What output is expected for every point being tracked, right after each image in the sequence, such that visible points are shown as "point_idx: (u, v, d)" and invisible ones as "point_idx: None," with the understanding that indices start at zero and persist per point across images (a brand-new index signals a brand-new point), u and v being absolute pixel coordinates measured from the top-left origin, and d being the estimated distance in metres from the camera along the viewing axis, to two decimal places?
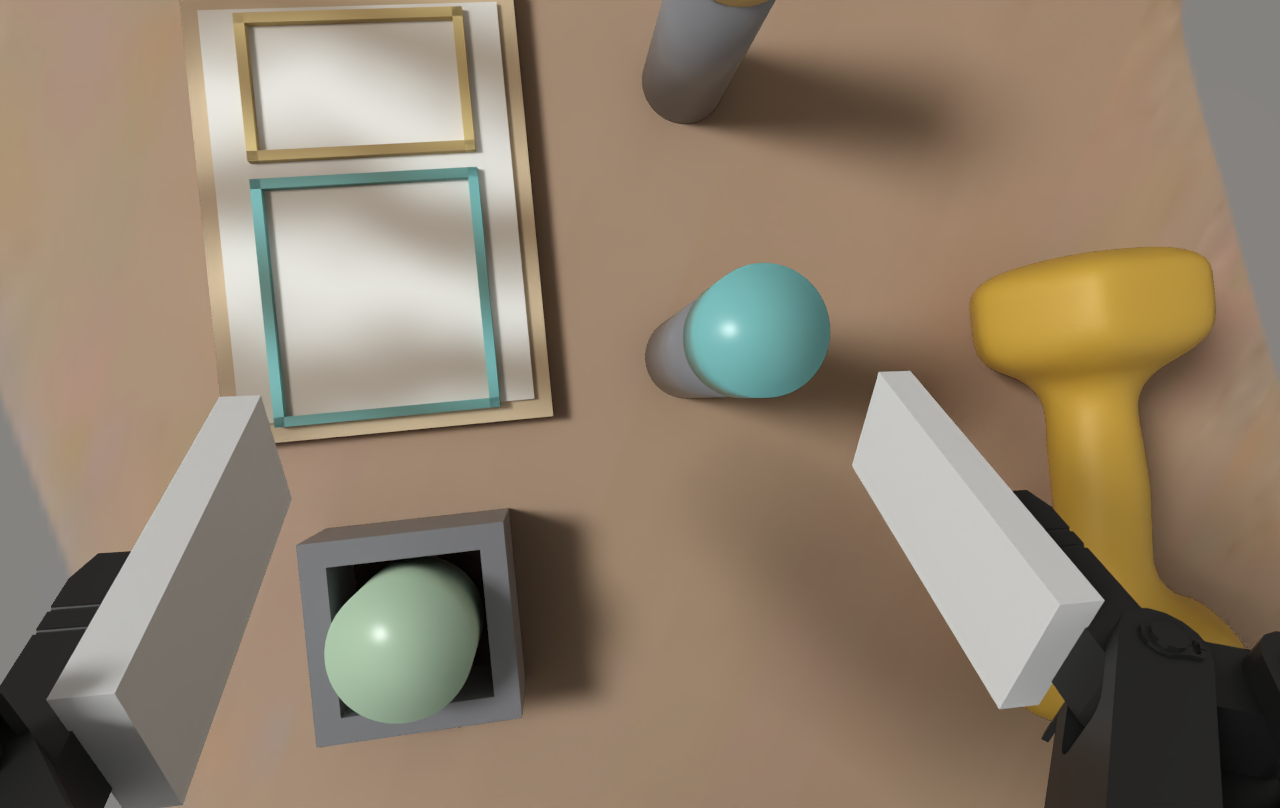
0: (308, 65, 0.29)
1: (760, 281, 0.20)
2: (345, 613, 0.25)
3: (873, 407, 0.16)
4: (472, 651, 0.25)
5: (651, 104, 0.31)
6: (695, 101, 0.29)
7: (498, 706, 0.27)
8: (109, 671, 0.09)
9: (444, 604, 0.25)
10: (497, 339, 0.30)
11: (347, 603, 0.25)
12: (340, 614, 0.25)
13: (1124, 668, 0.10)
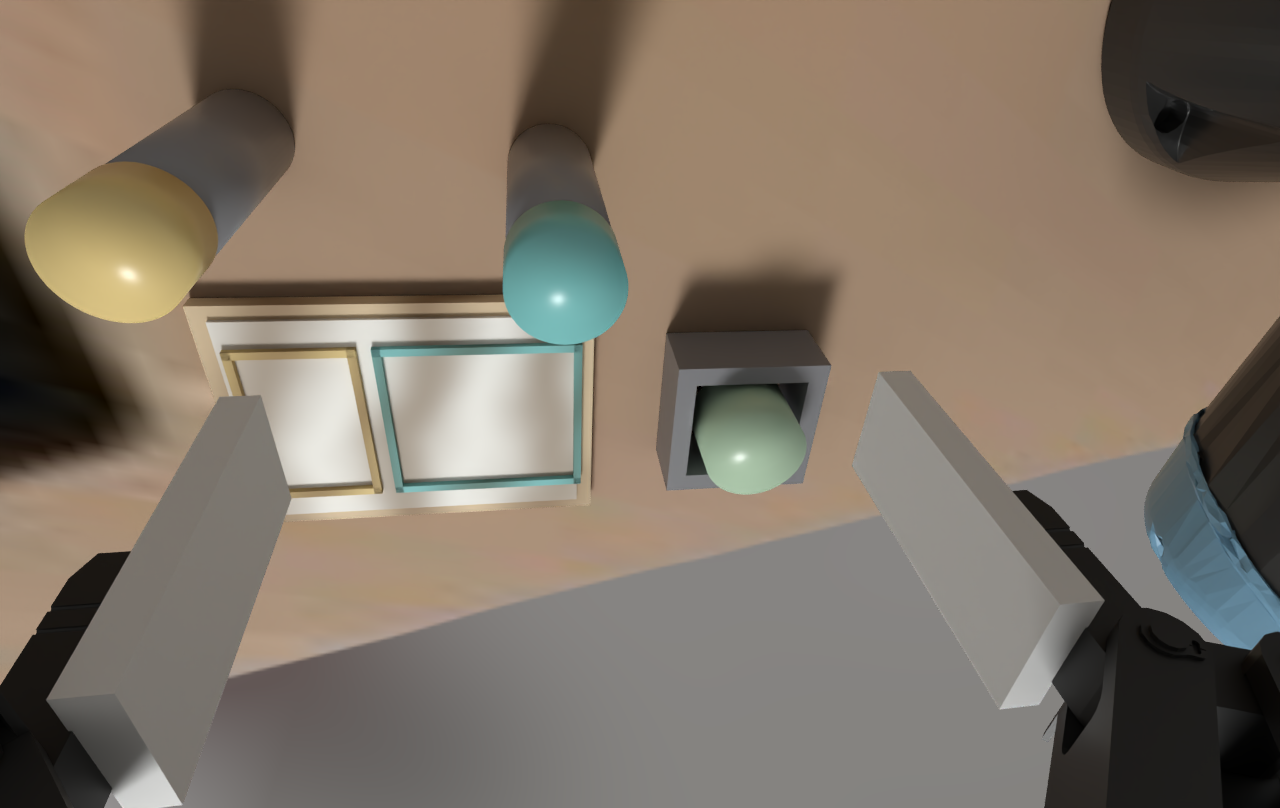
0: (297, 455, 0.36)
1: (520, 291, 0.21)
2: (720, 483, 0.36)
3: (873, 407, 0.16)
4: (770, 414, 0.33)
5: None
6: (278, 156, 0.27)
7: (816, 380, 0.35)
8: (109, 671, 0.09)
9: (732, 429, 0.34)
10: (524, 341, 0.35)
11: (714, 482, 0.35)
12: (720, 485, 0.36)
13: (1124, 668, 0.10)
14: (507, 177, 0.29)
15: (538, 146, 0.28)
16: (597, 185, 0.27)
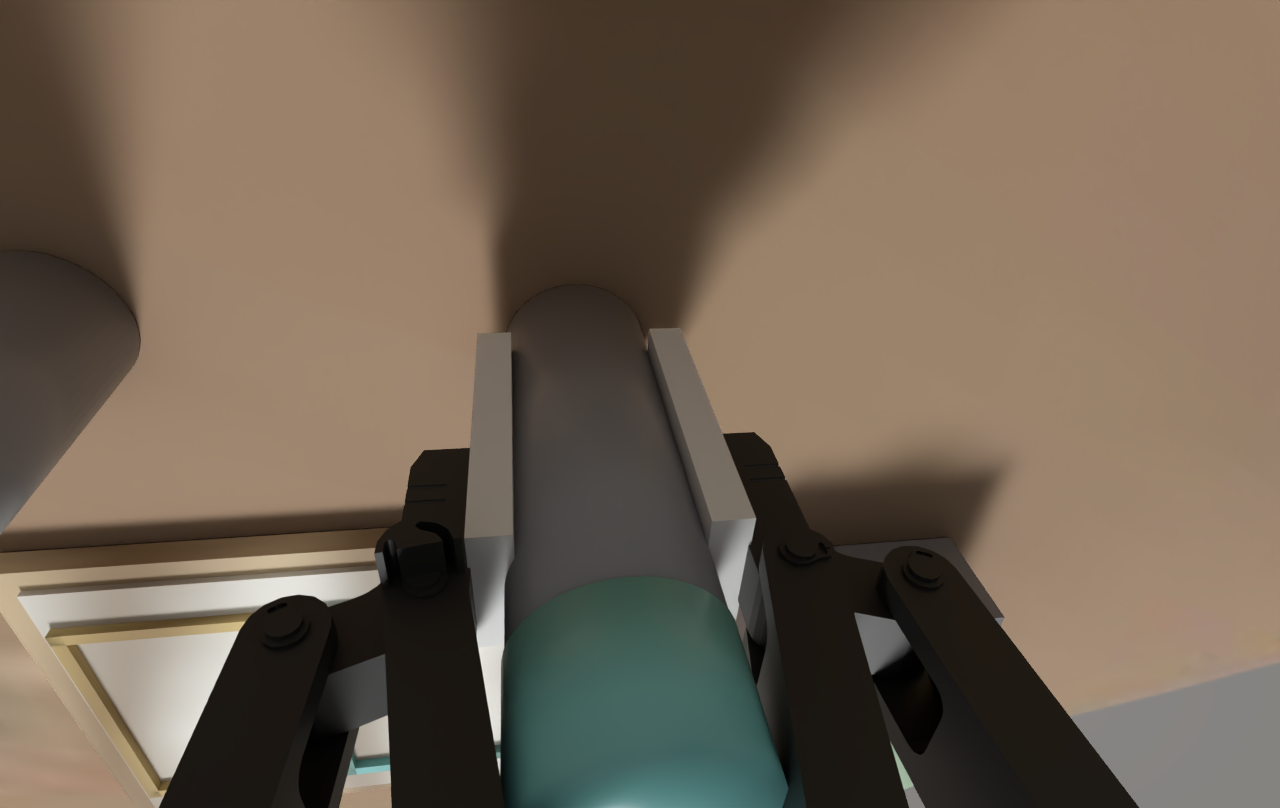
0: None
1: None
2: None
3: None
4: None
5: None
6: (90, 379, 0.15)
7: None
8: (500, 520, 0.12)
9: None
10: None
11: None
12: None
13: (777, 594, 0.11)
14: None
15: (560, 352, 0.15)
16: (672, 438, 0.14)
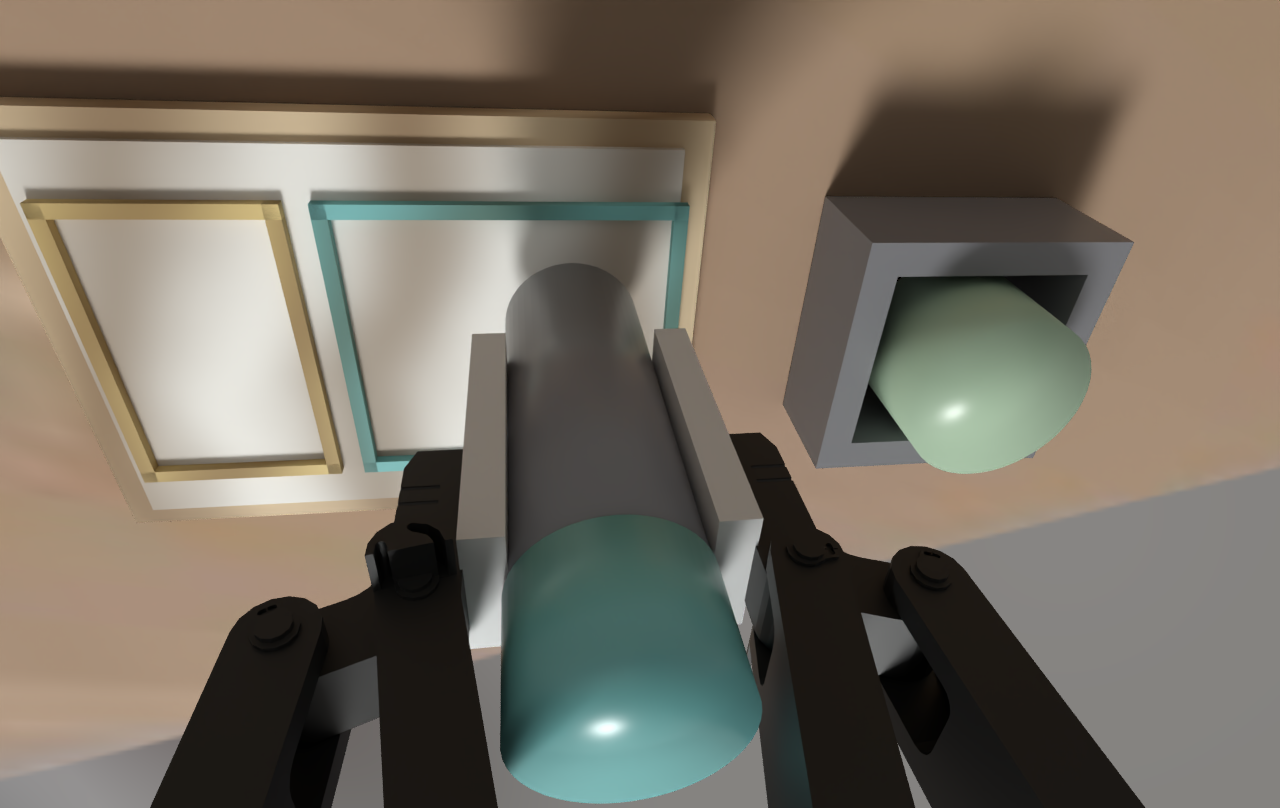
0: (193, 406, 0.21)
1: (537, 745, 0.10)
2: (928, 453, 0.20)
3: (653, 363, 0.17)
4: (1045, 323, 0.18)
5: None
6: None
7: (1102, 271, 0.20)
8: (492, 522, 0.12)
9: (970, 352, 0.18)
10: (586, 197, 0.19)
11: (919, 451, 0.20)
12: (927, 457, 0.20)
13: (784, 594, 0.11)
14: None
15: (557, 323, 0.16)
16: (662, 401, 0.15)
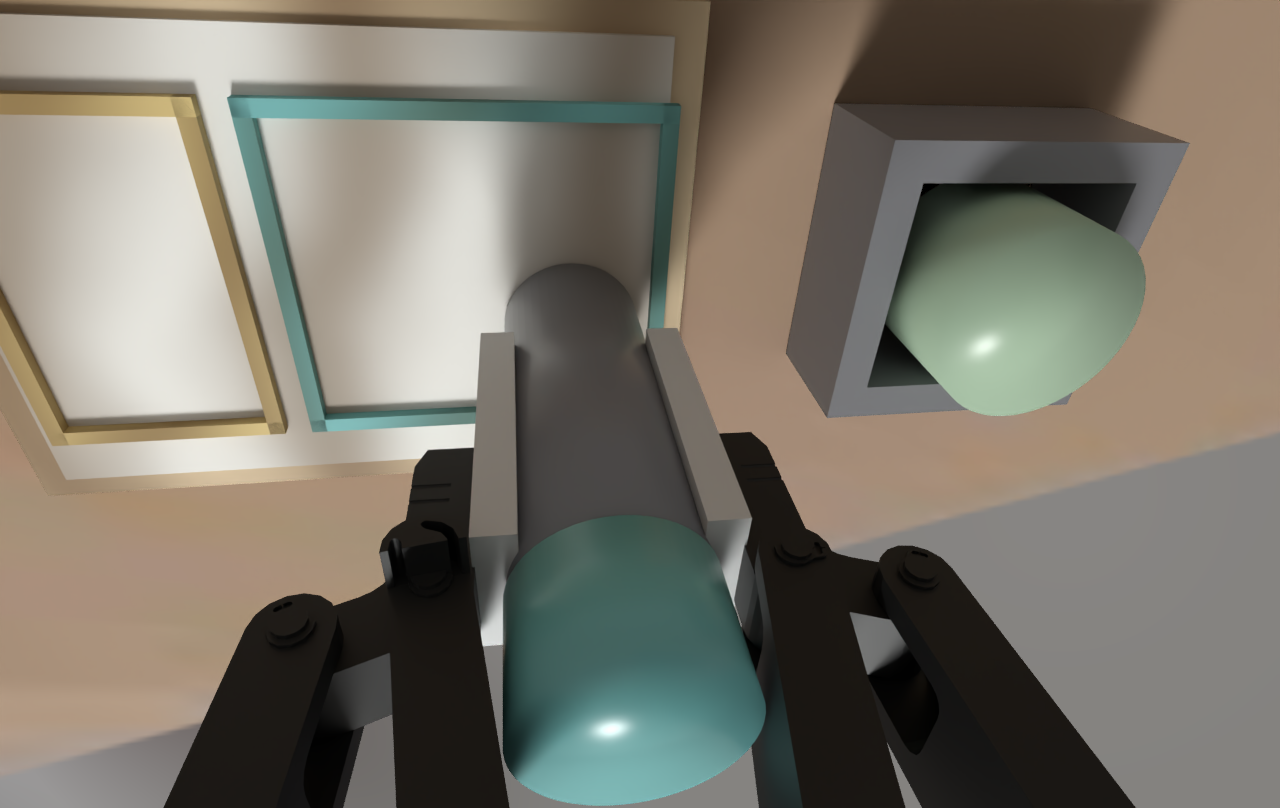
0: (105, 354, 0.18)
1: (540, 747, 0.10)
2: (959, 391, 0.18)
3: None
4: (1096, 229, 0.16)
5: None
6: None
7: (1153, 178, 0.17)
8: (504, 520, 0.12)
9: (1010, 266, 0.16)
10: (560, 95, 0.16)
11: (948, 388, 0.17)
12: (958, 396, 0.18)
13: (772, 593, 0.11)
14: None
15: (558, 323, 0.16)
16: None
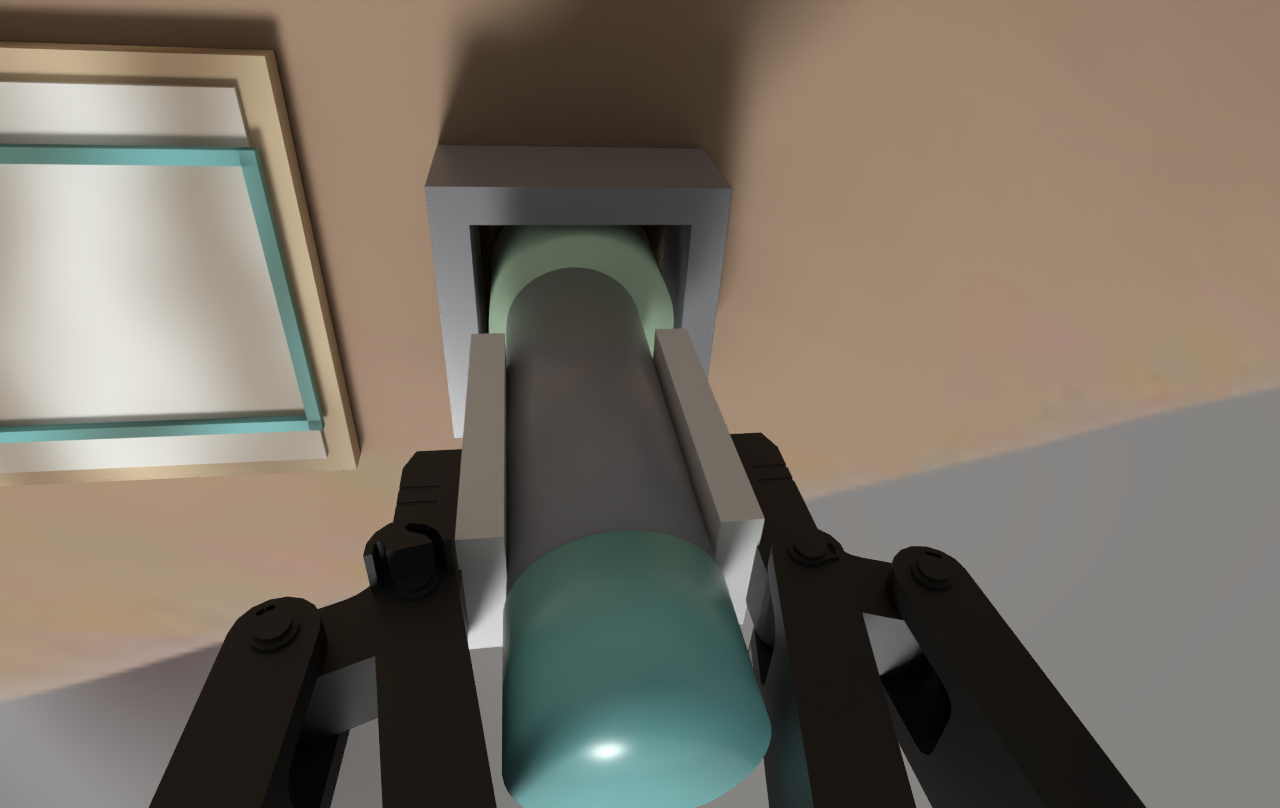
0: None
1: (539, 769, 0.10)
2: None
3: (654, 363, 0.17)
4: (596, 242, 0.18)
5: None
6: None
7: (707, 220, 0.19)
8: (491, 522, 0.12)
9: (527, 273, 0.18)
10: (136, 140, 0.18)
11: None
12: None
13: (785, 594, 0.11)
14: (507, 369, 0.17)
15: (560, 329, 0.16)
16: (667, 411, 0.15)
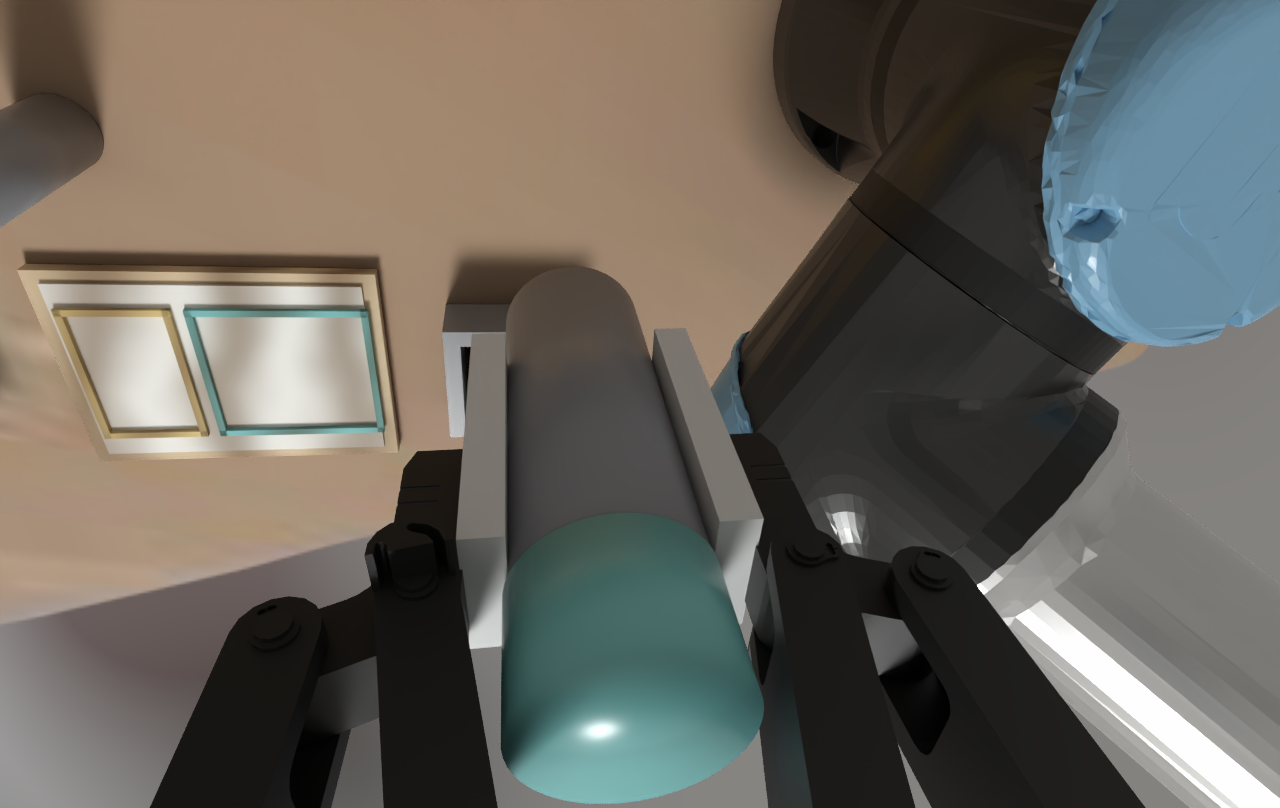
0: (130, 401, 0.43)
1: (538, 745, 0.10)
2: None
3: (653, 363, 0.17)
4: None
5: None
6: (80, 149, 0.34)
7: None
8: (492, 522, 0.12)
9: None
10: (317, 307, 0.42)
11: None
12: None
13: (784, 594, 0.11)
14: None
15: (558, 325, 0.16)
16: (663, 403, 0.15)
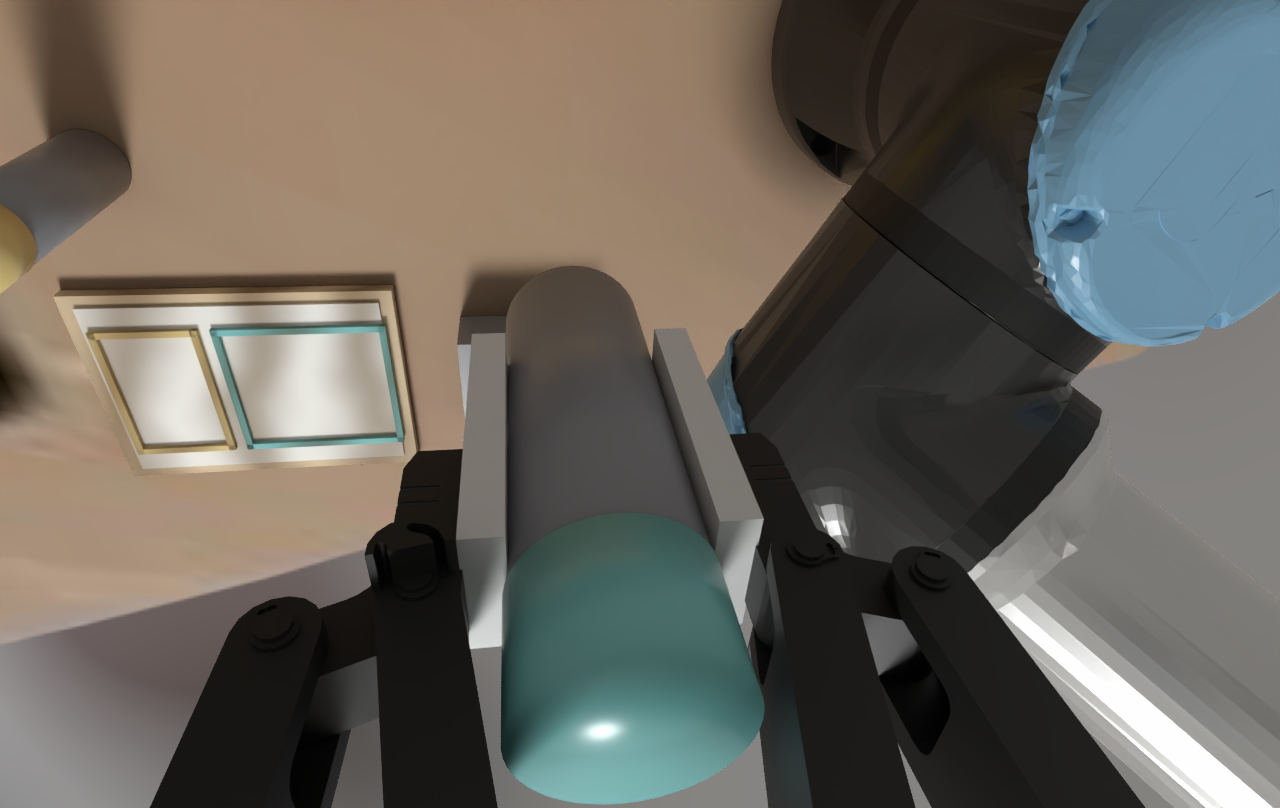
0: (161, 418, 0.45)
1: (538, 744, 0.10)
2: None
3: (653, 363, 0.17)
4: None
5: None
6: (110, 182, 0.36)
7: None
8: (493, 522, 0.12)
9: None
10: (336, 323, 0.43)
11: None
12: None
13: (784, 594, 0.11)
14: None
15: (558, 325, 0.16)
16: (663, 403, 0.15)
